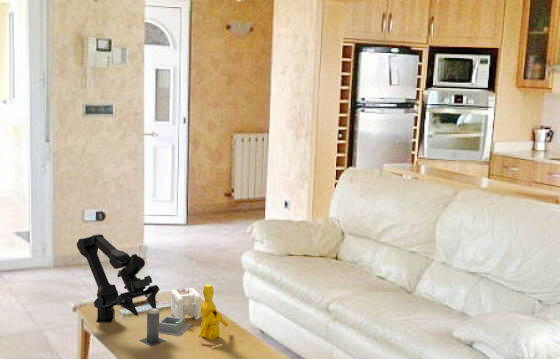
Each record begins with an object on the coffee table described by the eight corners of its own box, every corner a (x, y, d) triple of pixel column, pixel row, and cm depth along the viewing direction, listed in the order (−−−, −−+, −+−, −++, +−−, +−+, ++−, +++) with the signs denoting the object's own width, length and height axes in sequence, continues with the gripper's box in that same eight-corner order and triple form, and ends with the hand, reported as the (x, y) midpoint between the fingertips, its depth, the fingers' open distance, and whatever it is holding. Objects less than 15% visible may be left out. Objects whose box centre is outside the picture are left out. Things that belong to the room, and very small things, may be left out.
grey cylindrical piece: (144, 340, 276) (144, 309, 274) (153, 337, 279) (154, 307, 277) (151, 344, 273) (152, 313, 271) (161, 340, 276) (161, 310, 274)
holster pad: (138, 341, 276) (138, 340, 276) (154, 336, 282) (154, 335, 282) (150, 347, 270) (150, 346, 270) (166, 342, 276) (166, 341, 276)
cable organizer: (200, 322, 300) (201, 297, 299) (177, 324, 296) (177, 299, 295) (191, 310, 314) (192, 286, 312) (169, 312, 310) (169, 288, 308)
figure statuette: (202, 345, 275) (204, 293, 272) (188, 340, 280) (190, 289, 277) (231, 333, 289) (233, 284, 286) (217, 328, 294) (219, 279, 291)
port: (148, 332, 285) (148, 322, 285) (161, 321, 299) (162, 311, 298) (179, 337, 282) (180, 327, 282) (191, 325, 296) (192, 316, 295)
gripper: (120, 274, 271) (136, 308, 266) (157, 266, 285) (173, 298, 279) (108, 288, 277) (124, 322, 272) (145, 279, 291) (161, 311, 286)
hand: (146, 312), depth 277 cm, fingers open, 9 cm apart
